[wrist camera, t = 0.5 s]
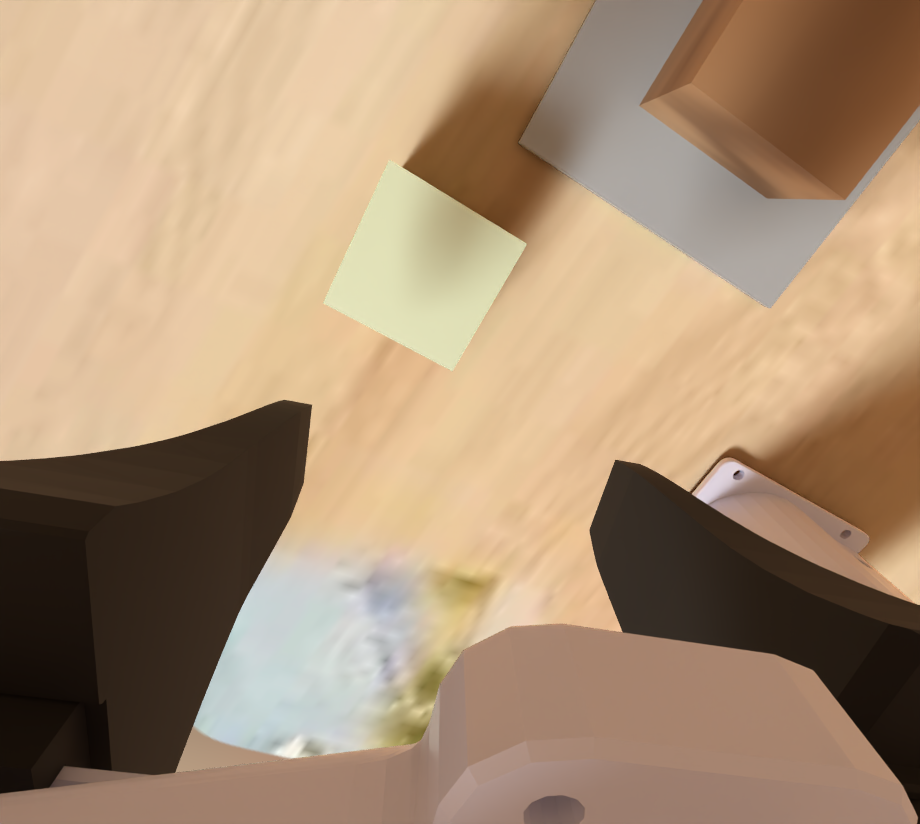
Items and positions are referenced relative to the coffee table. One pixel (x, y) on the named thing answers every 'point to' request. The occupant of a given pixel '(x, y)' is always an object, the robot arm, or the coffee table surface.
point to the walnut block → (793, 89)
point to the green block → (422, 267)
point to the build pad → (671, 155)
